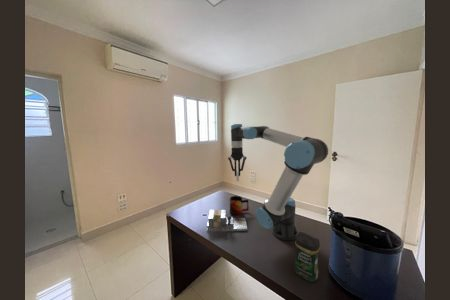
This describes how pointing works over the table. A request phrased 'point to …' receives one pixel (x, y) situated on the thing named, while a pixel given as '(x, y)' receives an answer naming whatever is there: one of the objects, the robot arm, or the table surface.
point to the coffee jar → (307, 256)
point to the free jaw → (226, 220)
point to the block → (217, 218)
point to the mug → (237, 206)
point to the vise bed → (238, 225)
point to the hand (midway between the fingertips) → (237, 180)
